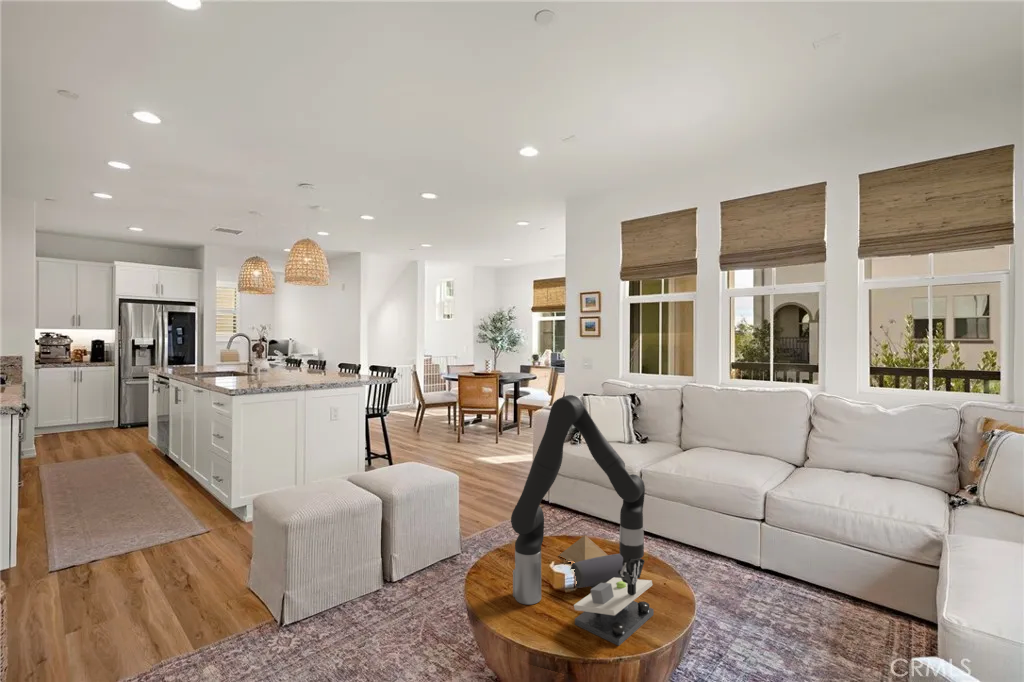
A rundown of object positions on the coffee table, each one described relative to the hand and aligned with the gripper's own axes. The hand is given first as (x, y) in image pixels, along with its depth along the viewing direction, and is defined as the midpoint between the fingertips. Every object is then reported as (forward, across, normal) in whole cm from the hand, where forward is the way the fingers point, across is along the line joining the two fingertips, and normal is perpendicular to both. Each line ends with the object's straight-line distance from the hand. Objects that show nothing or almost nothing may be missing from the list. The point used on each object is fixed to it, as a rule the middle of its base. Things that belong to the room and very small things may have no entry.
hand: (631, 593), depth 159 cm
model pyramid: (+11, -30, -39) cm, 50 cm away
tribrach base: (+11, 0, -6) cm, 12 cm away
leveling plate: (+4, 0, -6) cm, 7 cm away
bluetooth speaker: (+11, -17, -22) cm, 30 cm away
